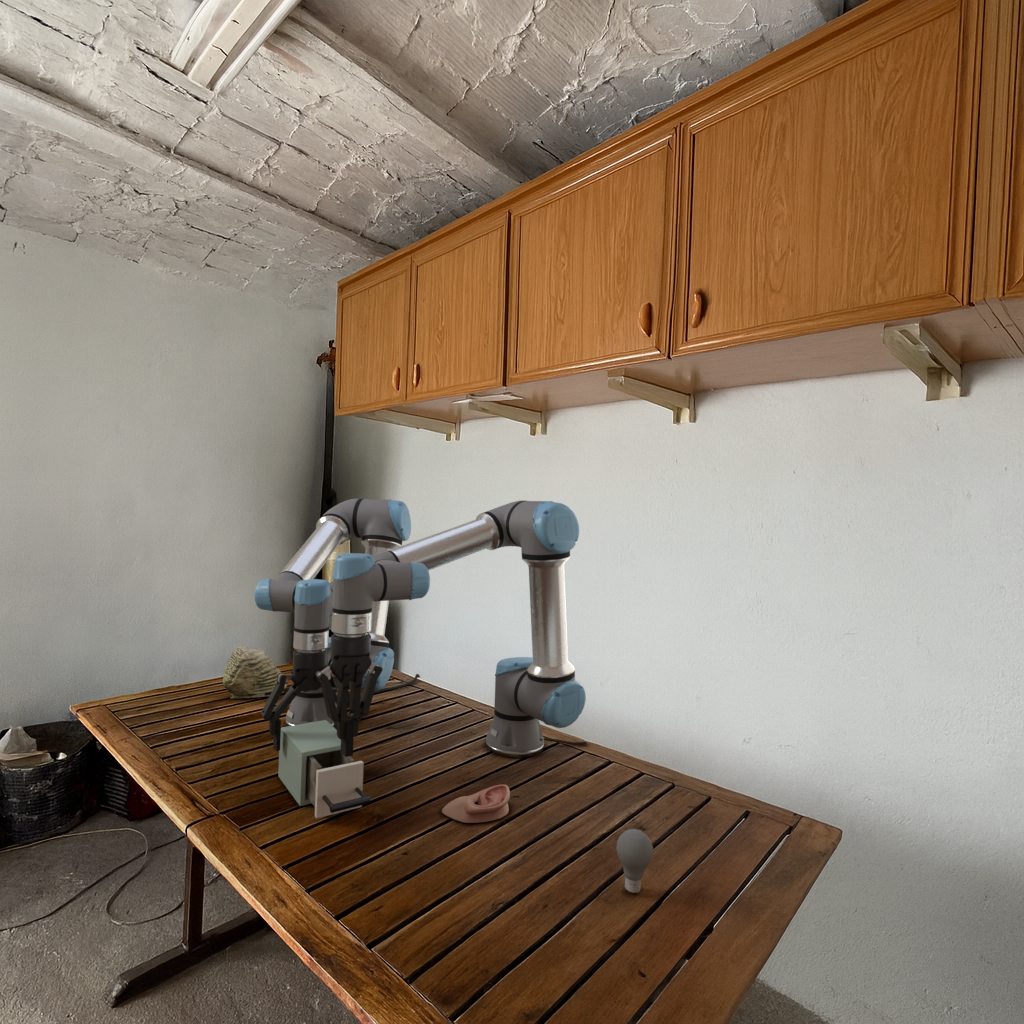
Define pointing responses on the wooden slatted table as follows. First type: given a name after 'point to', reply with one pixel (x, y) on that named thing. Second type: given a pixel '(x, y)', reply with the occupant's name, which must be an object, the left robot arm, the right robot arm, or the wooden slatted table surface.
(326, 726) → the cabinet
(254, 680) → the fossil
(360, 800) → the drawer
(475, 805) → the anatomical model
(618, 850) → the light bulb
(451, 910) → the wooden slatted table surface
